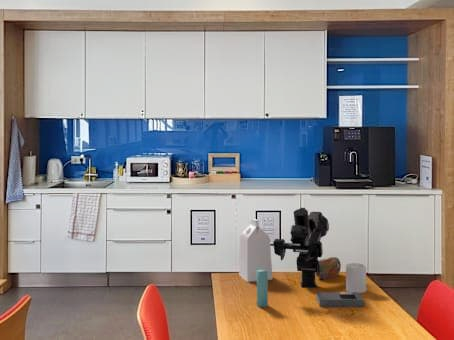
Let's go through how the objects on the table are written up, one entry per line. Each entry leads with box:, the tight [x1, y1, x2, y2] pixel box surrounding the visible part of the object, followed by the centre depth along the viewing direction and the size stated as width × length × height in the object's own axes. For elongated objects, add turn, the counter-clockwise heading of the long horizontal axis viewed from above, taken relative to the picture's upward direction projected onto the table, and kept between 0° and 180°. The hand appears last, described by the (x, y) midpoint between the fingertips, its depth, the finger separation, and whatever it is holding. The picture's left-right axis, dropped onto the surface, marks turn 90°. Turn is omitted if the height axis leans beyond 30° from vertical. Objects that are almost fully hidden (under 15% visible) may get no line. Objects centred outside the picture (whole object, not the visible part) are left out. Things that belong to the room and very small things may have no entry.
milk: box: [238, 218, 273, 283], centre depth 259 cm, size 12×12×26 cm
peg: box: [256, 270, 269, 308], centre depth 218 cm, size 4×4×13 cm
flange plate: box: [316, 291, 365, 308], centre depth 220 cm, size 10×16×3 cm, turn 88°
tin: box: [315, 256, 342, 280], centre depth 258 cm, size 15×3×8 cm, turn 131°
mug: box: [345, 262, 367, 294], centre depth 237 cm, size 12×8×10 cm, turn 1°
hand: (293, 260), depth 220 cm, fingers open, 9 cm apart
